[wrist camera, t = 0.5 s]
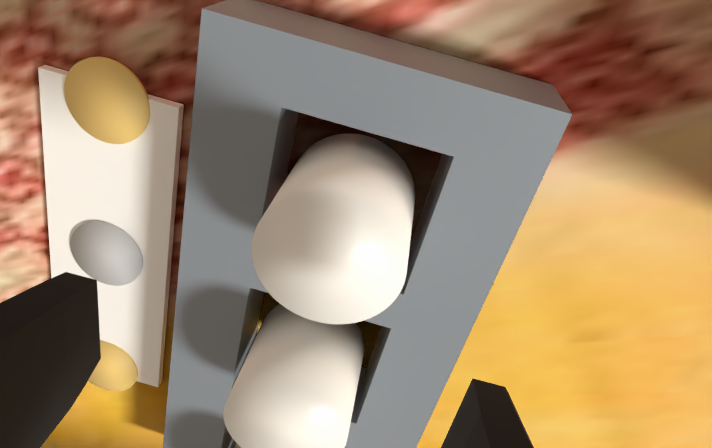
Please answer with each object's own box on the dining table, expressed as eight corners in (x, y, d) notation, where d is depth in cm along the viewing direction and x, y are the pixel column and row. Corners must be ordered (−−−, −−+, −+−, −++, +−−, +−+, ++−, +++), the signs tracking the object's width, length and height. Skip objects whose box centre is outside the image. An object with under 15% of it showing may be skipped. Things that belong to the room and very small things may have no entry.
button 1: (395, 261, 18) (383, 341, 15) (281, 228, 18) (242, 300, 15) (432, 155, 16) (428, 218, 13) (303, 117, 16) (264, 170, 13)
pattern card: (160, 395, 26) (155, 403, 26) (62, 366, 26) (55, 374, 26) (185, 76, 18) (179, 80, 18) (44, 35, 18) (32, 38, 18)
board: (552, 84, 16) (572, 114, 14) (372, 497, 28) (364, 556, 25) (240, -5, 17) (201, 8, 14) (185, 442, 28) (158, 496, 25)
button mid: (350, 391, 21) (332, 482, 18) (254, 363, 21) (216, 448, 18) (376, 316, 19) (361, 402, 16) (269, 285, 19) (231, 364, 16)
